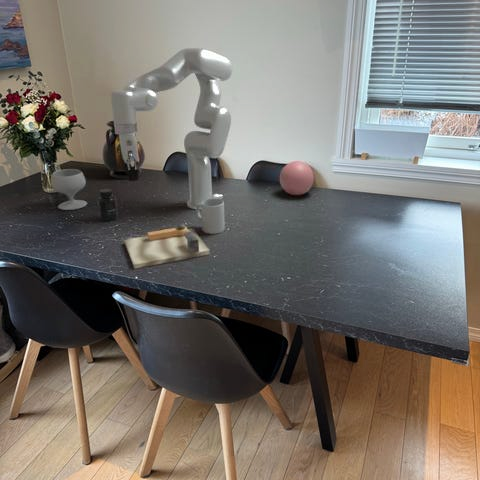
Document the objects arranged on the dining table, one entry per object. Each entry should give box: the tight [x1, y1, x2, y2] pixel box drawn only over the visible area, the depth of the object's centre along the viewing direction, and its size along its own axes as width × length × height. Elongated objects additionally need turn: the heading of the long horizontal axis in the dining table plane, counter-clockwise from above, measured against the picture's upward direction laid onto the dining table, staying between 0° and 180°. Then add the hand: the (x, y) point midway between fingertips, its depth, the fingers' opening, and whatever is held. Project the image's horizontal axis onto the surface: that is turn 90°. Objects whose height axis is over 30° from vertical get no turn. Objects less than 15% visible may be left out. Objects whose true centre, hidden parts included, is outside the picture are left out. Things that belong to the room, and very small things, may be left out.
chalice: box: [50, 168, 88, 211], centre depth 184 cm, size 14×14×15 cm
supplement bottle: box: [97, 188, 119, 222], centre depth 170 cm, size 7×7×12 cm
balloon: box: [279, 160, 315, 196], centre depth 196 cm, size 15×20×15 cm
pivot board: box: [123, 223, 211, 269], centre depth 146 cm, size 25×20×6 cm
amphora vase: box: [102, 120, 146, 180], centre depth 223 cm, size 22×22×28 cm
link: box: [147, 226, 188, 240], centre depth 152 cm, size 14×4×2 cm, turn 112°
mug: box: [195, 199, 226, 235], centre depth 160 cm, size 12×8×11 cm
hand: (131, 176), depth 153 cm, fingers open, 9 cm apart
